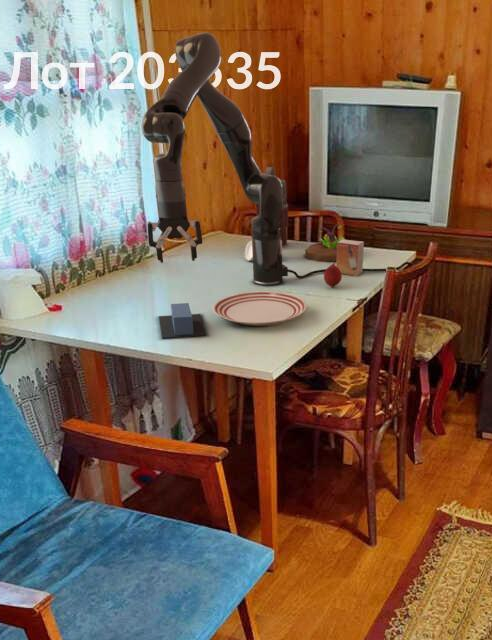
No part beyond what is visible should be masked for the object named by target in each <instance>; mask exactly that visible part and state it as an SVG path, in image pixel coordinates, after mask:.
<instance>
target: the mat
mask: <svg viewBox="0 0 492 640" xmlns="http://www.w3.org/2000/svg"><path fill="white" fill-rule="evenodd" d="M191 314H192V313H191ZM158 320H159V327H160V334H161V335H160V336H161V339H162V340H166V339H167V340H168V339H181V338H199V337H207V332H206V329H205V325H204V322H203V319H202V315H201V313H193V314H192V321H193V332H194V334H191V335H175V332H174V327H173V321H172V315H159V316H158Z"/></svg>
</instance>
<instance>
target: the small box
mask: <svg viewBox="0 0 492 640" xmlns="http://www.w3.org/2000/svg"><path fill="white" fill-rule="evenodd" d="M364 246H365V241H362V240H361V241H360V240H352V239H350V240H349V239H346V238H344V239H342V240H341V241H339V242H337V262H335V266H336V267H338V268H339V270H340V271H341V274H344V275H349V276H354V277H358V276H359V275H360V274H362V273H363V271H362V269H364V249H365V247H364Z"/></svg>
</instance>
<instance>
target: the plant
mask: <svg viewBox="0 0 492 640" xmlns="http://www.w3.org/2000/svg"><path fill="white" fill-rule="evenodd" d="M336 228H337V229H338V230H340V231H341V230H342V229H343V226H342V225H341V224H335V225H334V226H333V228H332V230H331V232H330V229H328V228H326V227H321V228H319V233H321V234H322V233H323V232H324V231H326V232H327V233H325V234H324V236H323V238H318V240H319V241H321V242H314V243H311V244H310V245H309V246H308V247H307V248H305V250H304V255H305V257H306V258H307V259H308V260H316V261H318V262H331V263H333V262H334V263H337V242H339V241H341V240H342V239H345V237H344V236H342V237H340V238H337V237H336V233H335V232H336Z"/></svg>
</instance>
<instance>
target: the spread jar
mask: <svg viewBox="0 0 492 640" xmlns="http://www.w3.org/2000/svg"><path fill="white" fill-rule="evenodd" d="M280 246H281V254H282V255H283V247H282V239H281V236H280ZM244 248H245V249H244V257H245V260H246V261H248V262H249V261H250V262H253V252H252V240H250V241H248V242H247V243H246V245H245V247H244Z"/></svg>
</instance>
